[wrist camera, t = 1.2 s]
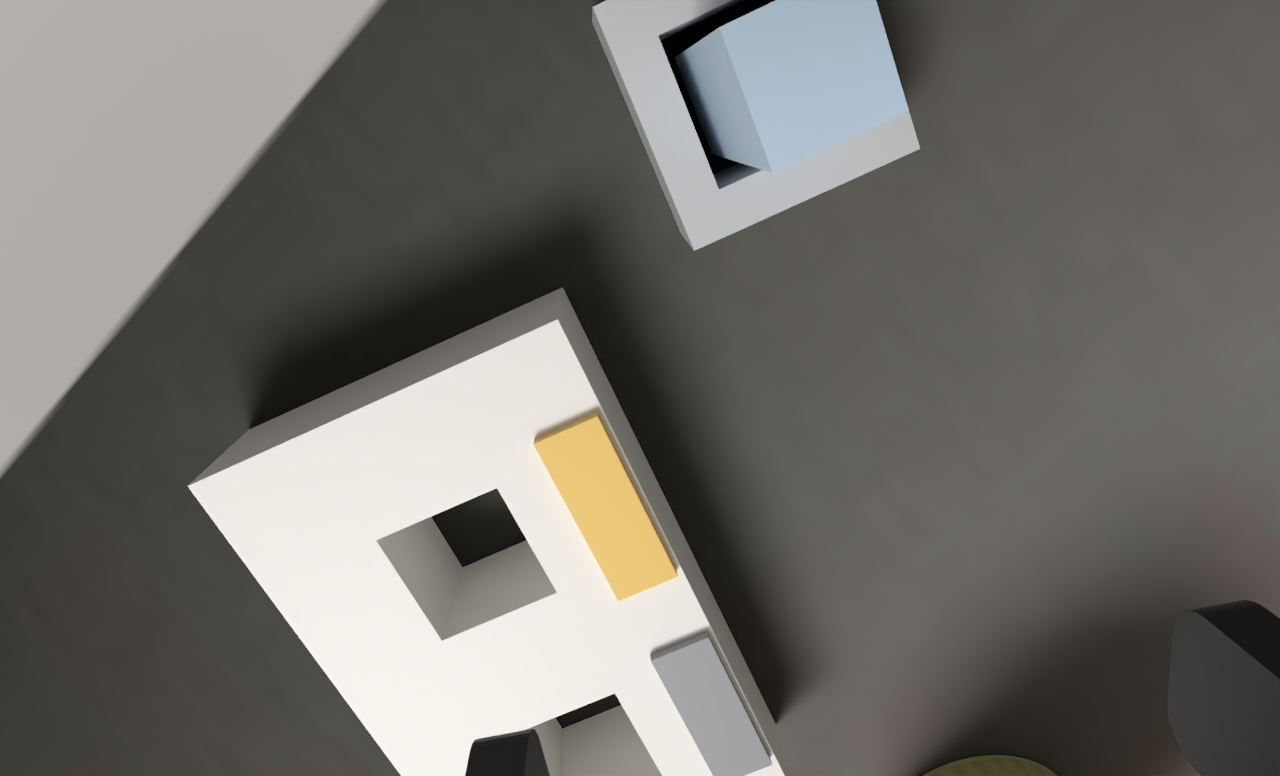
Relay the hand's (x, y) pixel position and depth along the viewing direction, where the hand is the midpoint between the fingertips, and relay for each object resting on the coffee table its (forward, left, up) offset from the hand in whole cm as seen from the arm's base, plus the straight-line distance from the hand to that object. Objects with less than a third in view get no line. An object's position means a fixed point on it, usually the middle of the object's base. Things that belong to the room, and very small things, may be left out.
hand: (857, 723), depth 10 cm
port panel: (+11, +9, -22) cm, 26 cm away
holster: (-5, -7, -22) cm, 24 cm away
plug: (-5, -7, -22) cm, 24 cm away
